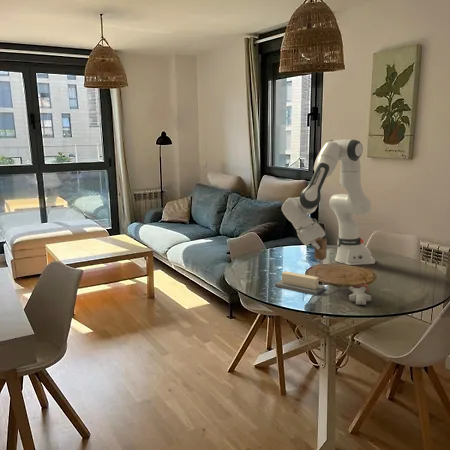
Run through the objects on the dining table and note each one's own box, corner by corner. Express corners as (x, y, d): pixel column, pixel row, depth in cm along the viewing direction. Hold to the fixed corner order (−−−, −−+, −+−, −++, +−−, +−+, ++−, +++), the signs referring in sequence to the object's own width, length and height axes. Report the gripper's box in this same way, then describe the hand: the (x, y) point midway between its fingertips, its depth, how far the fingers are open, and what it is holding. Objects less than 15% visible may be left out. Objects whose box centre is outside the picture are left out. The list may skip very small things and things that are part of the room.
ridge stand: (275, 286, 221) (275, 274, 219) (284, 280, 229) (284, 268, 227) (316, 295, 208) (316, 282, 207) (324, 288, 216) (325, 276, 215)
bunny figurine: (350, 297, 194) (346, 282, 208) (350, 308, 196) (346, 292, 210) (373, 298, 193) (367, 283, 207) (372, 308, 194) (367, 292, 208)
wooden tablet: (372, 290, 210) (350, 287, 211) (371, 295, 210) (349, 292, 211) (362, 273, 236) (343, 270, 237) (361, 277, 236) (342, 274, 237)
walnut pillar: (314, 258, 222) (315, 239, 220) (318, 256, 226) (318, 237, 224) (322, 260, 220) (323, 240, 218) (326, 258, 223) (327, 238, 221)
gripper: (299, 225, 215) (317, 247, 211) (316, 218, 231) (334, 239, 227) (290, 233, 218) (308, 255, 215) (308, 226, 234) (325, 246, 231)
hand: (321, 247), depth 221 cm, fingers closed on walnut pillar, 4 cm apart
